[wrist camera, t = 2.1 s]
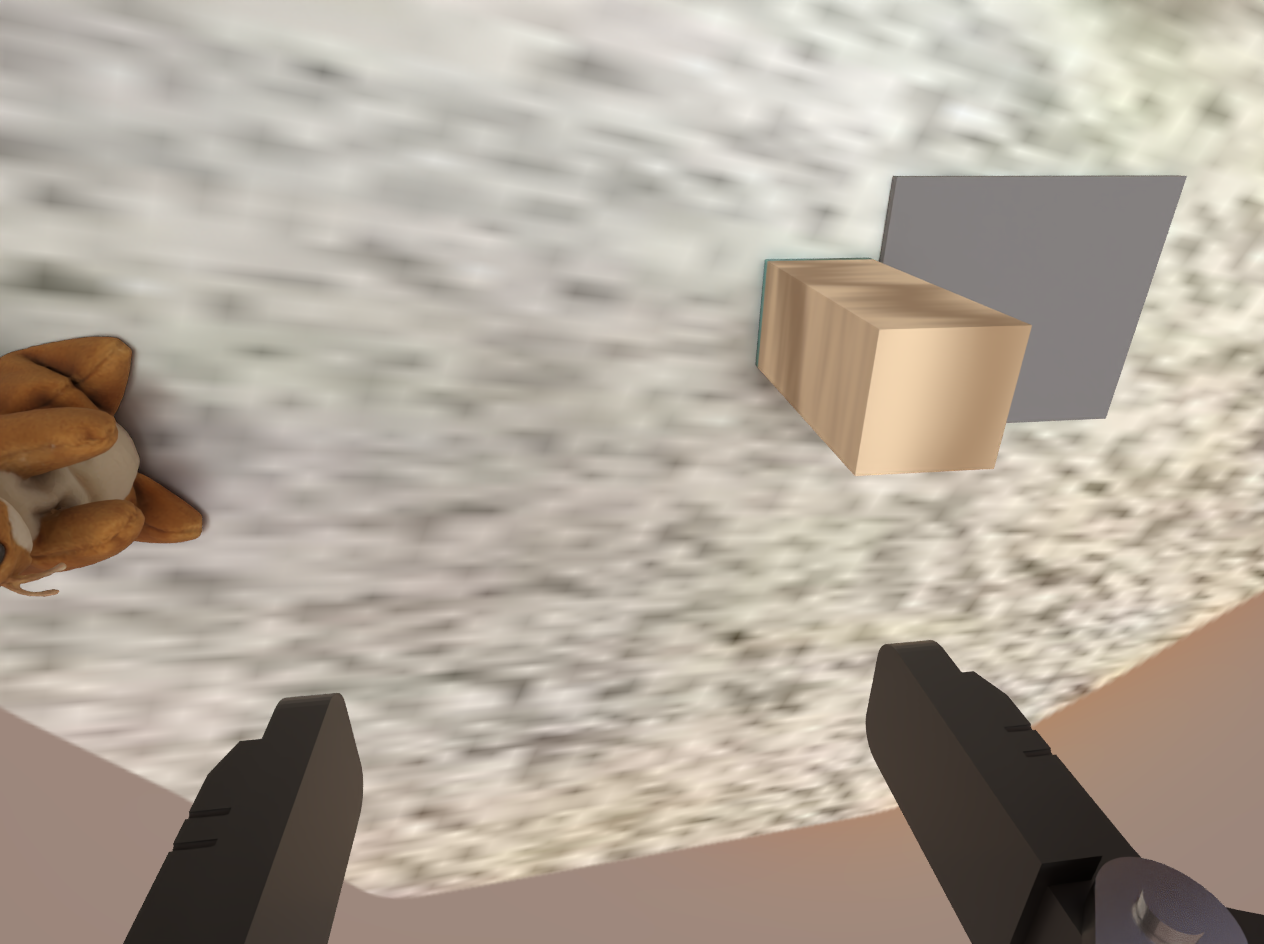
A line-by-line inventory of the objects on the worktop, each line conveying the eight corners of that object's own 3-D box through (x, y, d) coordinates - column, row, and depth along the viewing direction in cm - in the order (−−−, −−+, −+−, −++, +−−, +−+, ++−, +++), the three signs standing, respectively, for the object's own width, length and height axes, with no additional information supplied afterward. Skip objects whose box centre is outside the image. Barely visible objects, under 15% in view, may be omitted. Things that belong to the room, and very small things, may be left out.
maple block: (755, 364, 34) (854, 476, 24) (764, 259, 32) (879, 329, 21) (853, 361, 35) (993, 468, 24) (869, 257, 32) (1032, 325, 22)
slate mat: (852, 426, 36) (856, 429, 36) (893, 176, 31) (897, 176, 31) (1100, 415, 38) (1105, 418, 38) (1179, 175, 32) (1186, 176, 32)
